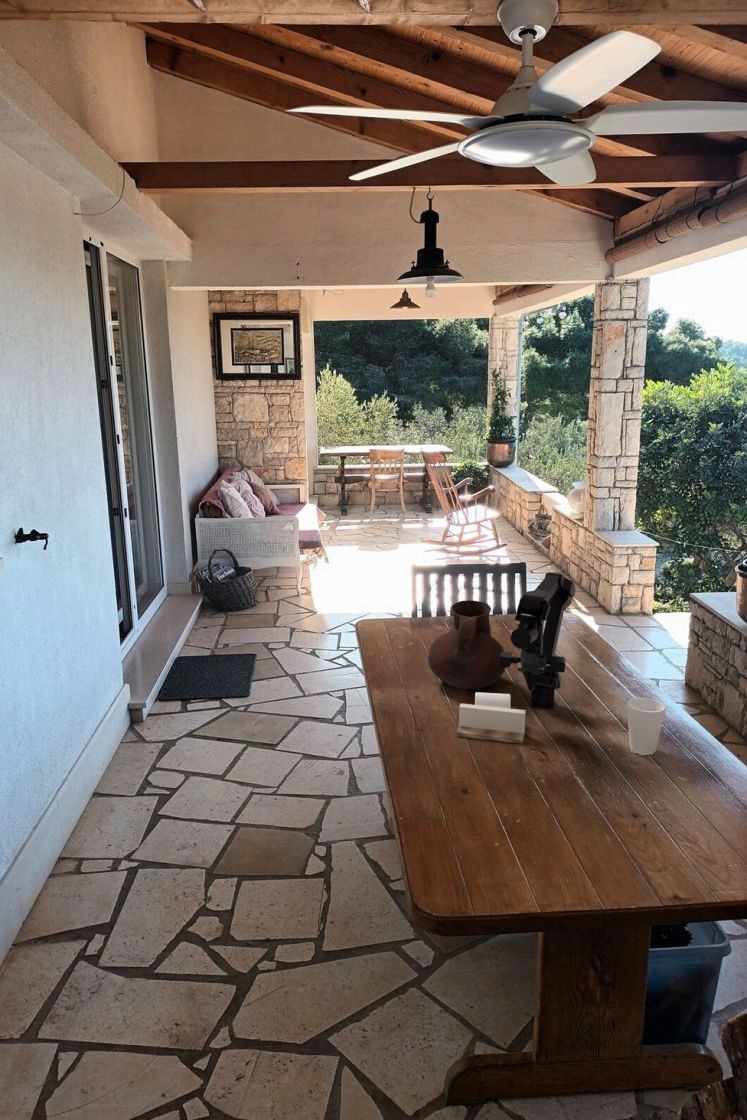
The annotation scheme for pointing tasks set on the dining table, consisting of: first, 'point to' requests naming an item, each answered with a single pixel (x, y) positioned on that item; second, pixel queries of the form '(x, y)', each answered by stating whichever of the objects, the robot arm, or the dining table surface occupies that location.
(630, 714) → the foam cup
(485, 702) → the mug
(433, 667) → the jug
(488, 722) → the screen
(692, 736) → the dining table surface
